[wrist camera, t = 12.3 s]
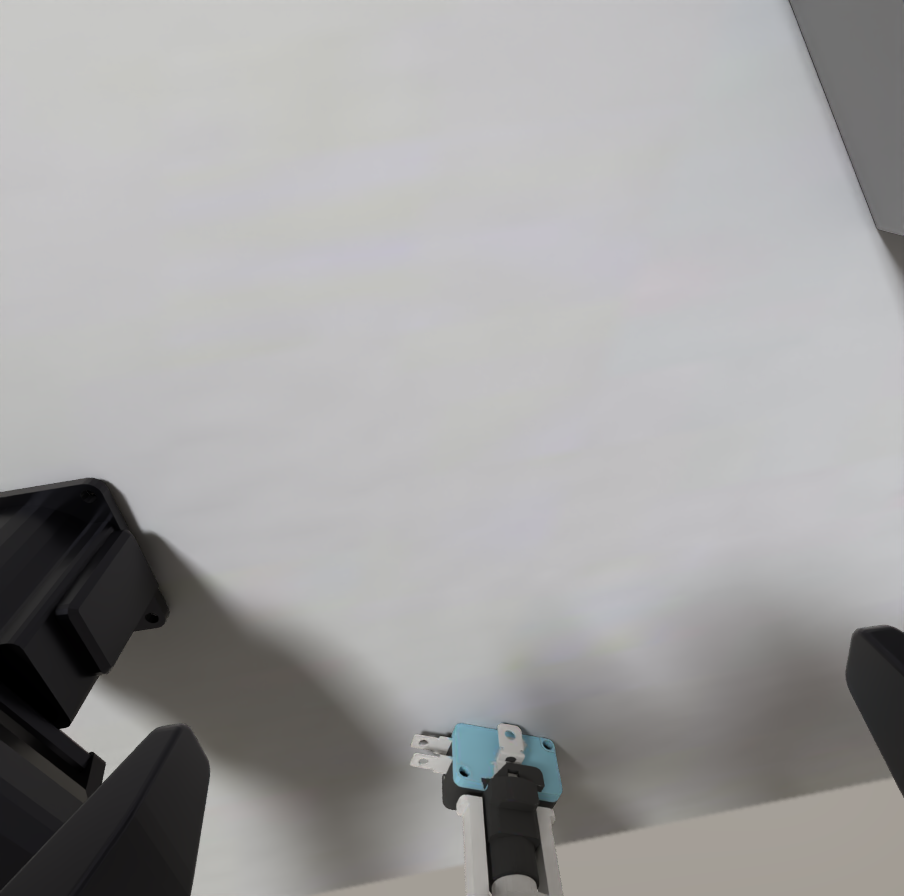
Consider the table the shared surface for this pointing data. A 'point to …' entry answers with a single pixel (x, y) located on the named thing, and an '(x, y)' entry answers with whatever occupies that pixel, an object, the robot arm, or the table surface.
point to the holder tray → (864, 91)
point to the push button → (500, 806)
